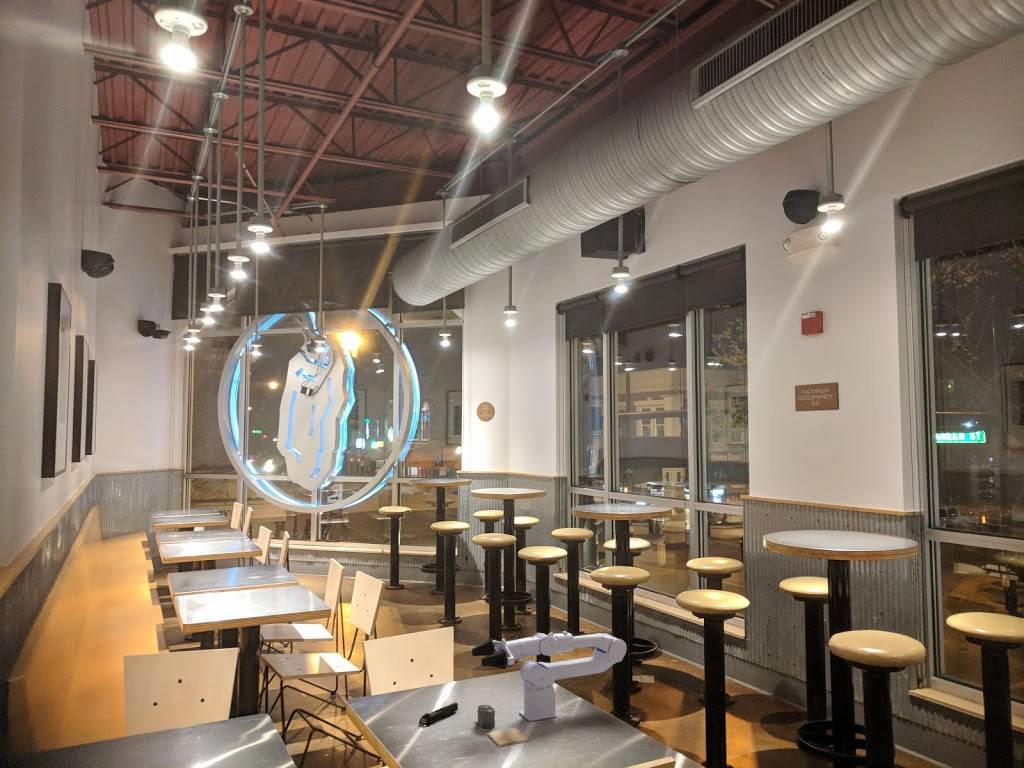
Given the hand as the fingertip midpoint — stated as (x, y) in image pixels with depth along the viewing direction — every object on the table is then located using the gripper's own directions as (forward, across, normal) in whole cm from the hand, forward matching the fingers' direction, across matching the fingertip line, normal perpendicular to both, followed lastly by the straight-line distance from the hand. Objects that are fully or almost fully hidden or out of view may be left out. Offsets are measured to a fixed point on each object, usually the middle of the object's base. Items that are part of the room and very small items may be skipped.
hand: (476, 657), depth 227 cm
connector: (-2, +4, +20) cm, 20 cm away
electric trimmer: (+10, -8, +22) cm, 25 cm away
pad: (-3, +15, +19) cm, 24 cm away
